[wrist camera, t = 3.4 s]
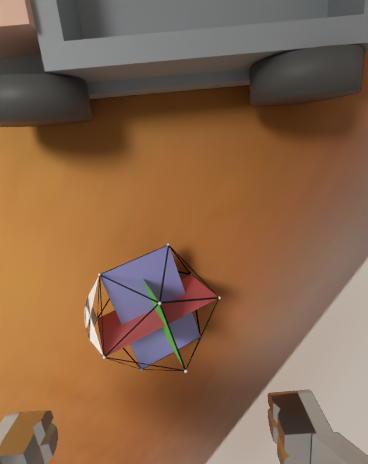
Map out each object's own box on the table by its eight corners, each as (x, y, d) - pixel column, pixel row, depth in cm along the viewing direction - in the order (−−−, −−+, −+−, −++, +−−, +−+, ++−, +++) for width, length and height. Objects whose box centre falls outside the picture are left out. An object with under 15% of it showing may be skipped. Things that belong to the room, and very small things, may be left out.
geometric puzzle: (223, 225, 16) (125, 310, 11) (250, 322, 18) (179, 436, 13) (139, 231, 21) (39, 292, 15) (168, 307, 23) (89, 387, 17)
